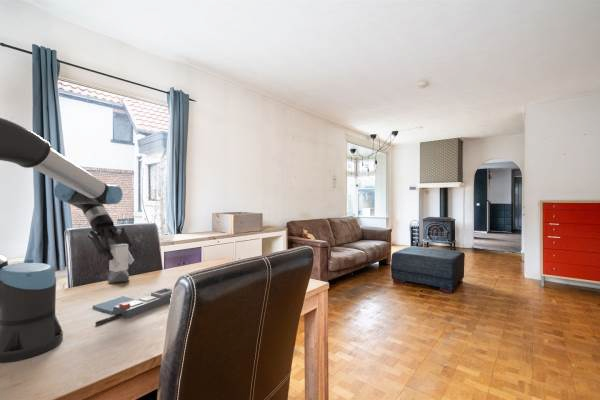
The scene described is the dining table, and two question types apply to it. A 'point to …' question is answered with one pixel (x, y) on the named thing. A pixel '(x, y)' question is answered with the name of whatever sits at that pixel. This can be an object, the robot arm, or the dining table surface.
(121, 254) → the block
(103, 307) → the mat
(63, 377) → the dining table surface
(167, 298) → the power strip
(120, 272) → the stone
